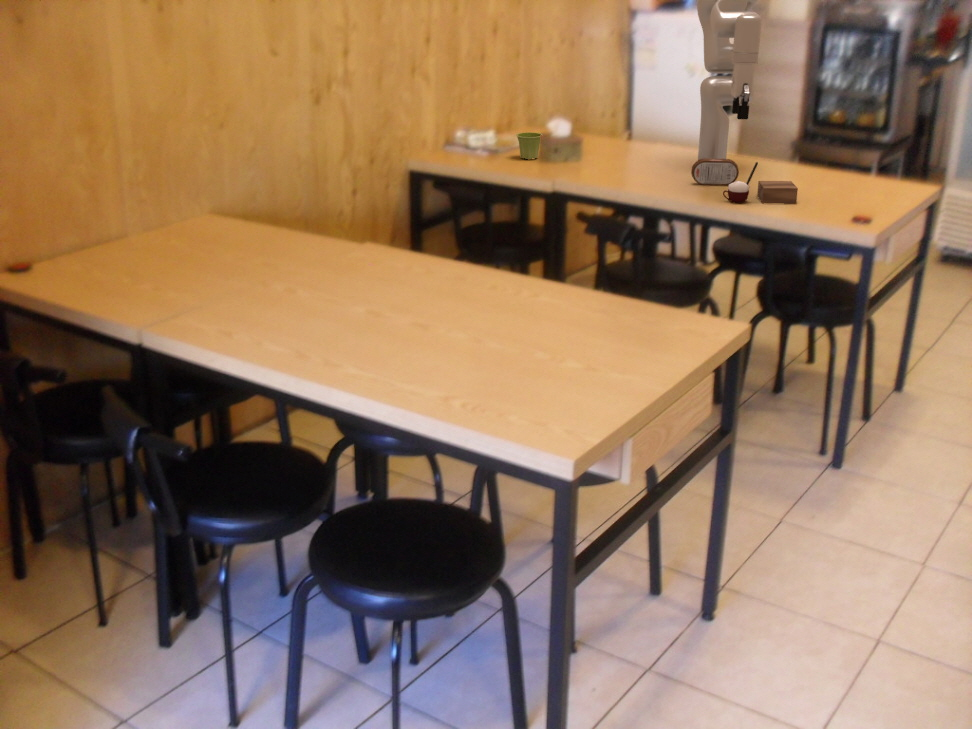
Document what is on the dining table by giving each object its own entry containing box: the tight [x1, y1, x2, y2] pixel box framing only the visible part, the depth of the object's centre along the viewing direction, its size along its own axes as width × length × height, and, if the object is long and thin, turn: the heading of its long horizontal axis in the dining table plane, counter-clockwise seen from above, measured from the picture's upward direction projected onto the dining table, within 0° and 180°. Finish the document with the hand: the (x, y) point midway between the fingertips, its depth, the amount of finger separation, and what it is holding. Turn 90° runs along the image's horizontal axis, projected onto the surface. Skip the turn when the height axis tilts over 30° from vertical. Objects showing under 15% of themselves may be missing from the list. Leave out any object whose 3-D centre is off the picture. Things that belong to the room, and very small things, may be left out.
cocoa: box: [722, 161, 759, 204], centre depth 313 cm, size 10×6×12 cm, turn 62°
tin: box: [690, 158, 740, 186], centre depth 335 cm, size 15×3×8 cm, turn 84°
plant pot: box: [516, 131, 543, 160], centre depth 375 cm, size 9×9×9 cm
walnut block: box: [756, 180, 799, 205], centre depth 317 cm, size 10×10×5 cm
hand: (739, 116), depth 315 cm, fingers open, 9 cm apart
